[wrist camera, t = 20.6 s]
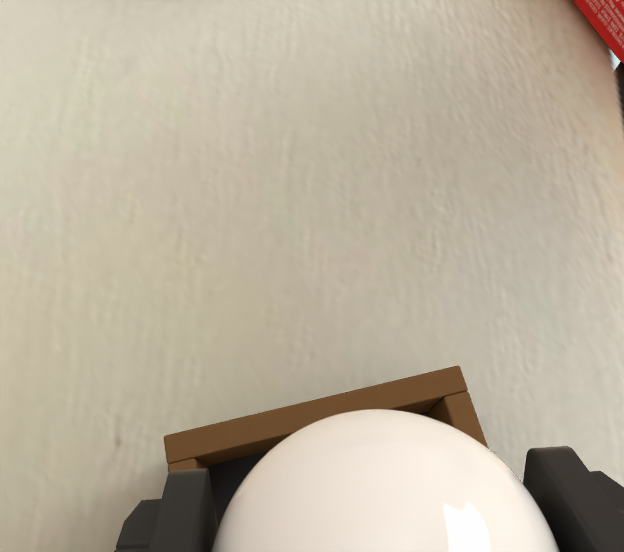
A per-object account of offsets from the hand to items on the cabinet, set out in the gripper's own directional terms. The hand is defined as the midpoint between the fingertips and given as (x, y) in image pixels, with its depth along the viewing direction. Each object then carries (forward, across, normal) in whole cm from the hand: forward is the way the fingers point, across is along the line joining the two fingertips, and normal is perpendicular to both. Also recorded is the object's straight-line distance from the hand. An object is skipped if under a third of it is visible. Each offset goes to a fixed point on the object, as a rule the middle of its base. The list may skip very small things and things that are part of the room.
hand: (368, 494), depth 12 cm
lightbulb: (+4, 0, +6) cm, 8 cm away
